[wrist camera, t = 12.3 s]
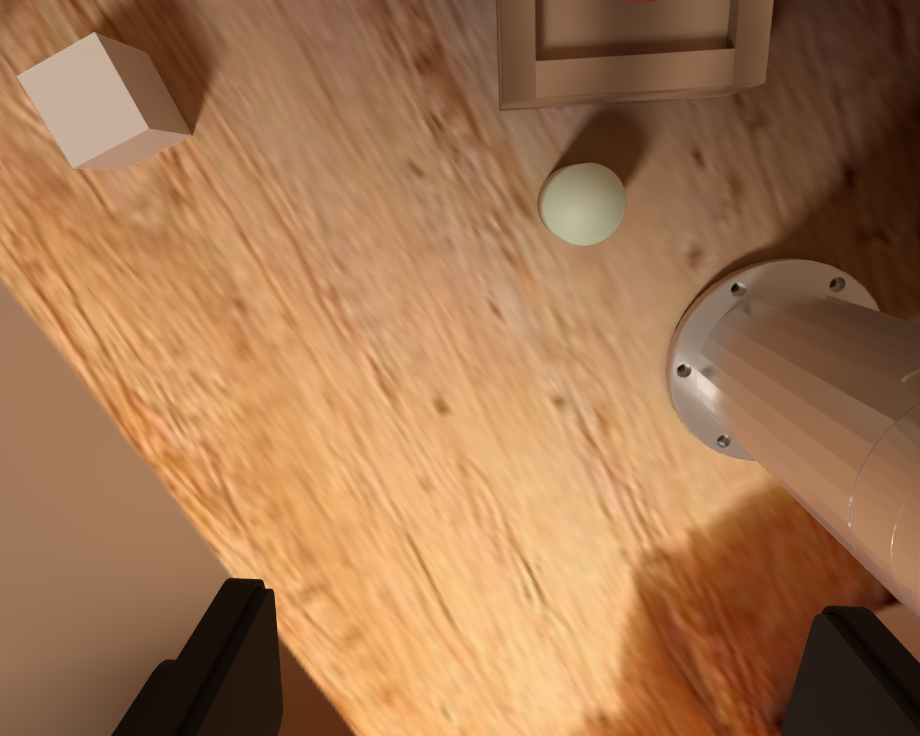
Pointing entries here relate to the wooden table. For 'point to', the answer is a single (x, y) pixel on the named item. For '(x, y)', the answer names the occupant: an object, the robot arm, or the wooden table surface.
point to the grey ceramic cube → (104, 104)
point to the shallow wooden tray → (628, 50)
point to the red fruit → (641, 0)
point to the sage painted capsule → (582, 203)
